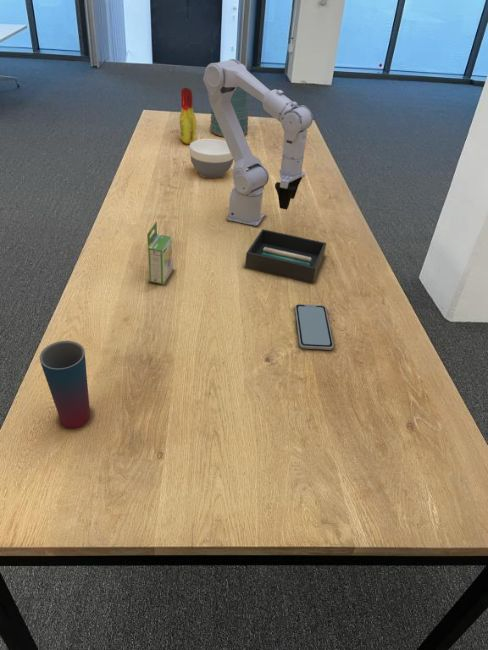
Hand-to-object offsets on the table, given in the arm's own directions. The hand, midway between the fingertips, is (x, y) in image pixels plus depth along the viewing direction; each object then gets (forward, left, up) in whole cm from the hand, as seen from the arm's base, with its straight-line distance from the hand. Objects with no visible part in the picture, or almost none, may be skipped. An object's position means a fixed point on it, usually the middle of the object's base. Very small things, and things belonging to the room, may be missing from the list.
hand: (287, 203), depth 142 cm
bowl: (-35, +32, -10) cm, 49 cm away
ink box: (-22, -36, -10) cm, 43 cm away
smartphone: (+18, -41, -9) cm, 46 cm away
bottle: (-56, +59, -10) cm, 82 cm away
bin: (+5, -16, -9) cm, 19 cm away
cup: (-16, -83, -10) cm, 85 cm away
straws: (+5, -16, -9) cm, 19 cm away
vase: (-45, +78, -10) cm, 91 cm away
